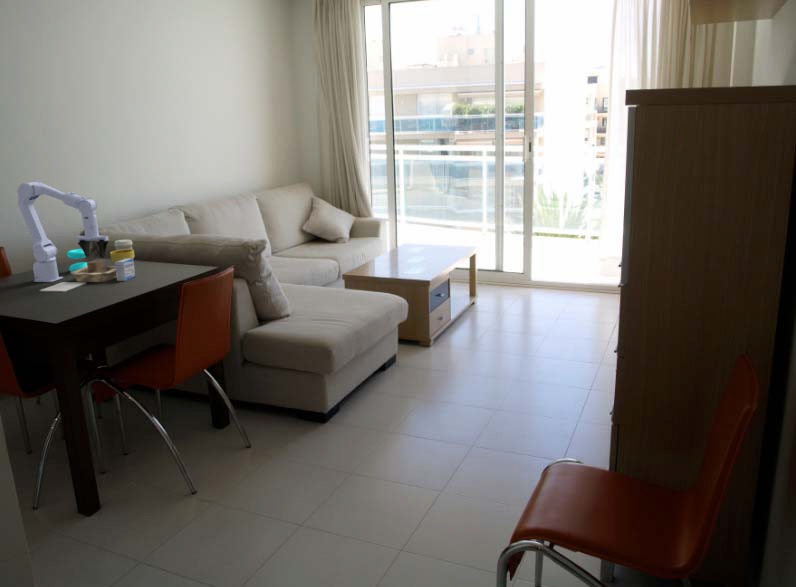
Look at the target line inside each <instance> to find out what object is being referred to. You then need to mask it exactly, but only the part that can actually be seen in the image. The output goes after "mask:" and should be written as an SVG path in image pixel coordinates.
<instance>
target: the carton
mask: <svg viewBox="0 0 796 587" xmlns="http://www.w3.org/2000/svg"><path fill="white" fill-rule="evenodd" d="M106 267H107V272H104V273H88V267H84V268H82V269H79V270H76V271H73V272H71V271H70V272H69V274H70V275H74V277H75V282H82V283H89V282H90V283H106V282H108V281H111V280H113V278H114V279H117V276H116V270H115V265H107V264H106Z"/></svg>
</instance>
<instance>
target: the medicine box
mask: <svg viewBox="0 0 796 587" xmlns="http://www.w3.org/2000/svg"><path fill="white" fill-rule="evenodd" d="M114 266H115V270H116V276H117V277H116V280H117V281H118V282H127V281H130V280H132V279H135V278H136V272H135V271H136V270H135V269H136V268H135V263H134V258H133V259H131V258H127V259H123V260H120V261H117V262H115V264H114ZM129 279H130V280H129Z"/></svg>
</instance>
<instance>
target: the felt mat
mask: <svg viewBox="0 0 796 587" xmlns="http://www.w3.org/2000/svg"><path fill="white" fill-rule="evenodd" d="M86 284H87V282H76V281H73V282H72V281H70V282H68V281H67V282H65V281H62V282H59V283H56V284H54V285H50V286H48V287H46V288H45V287H44V288H41V289H39V291H40V292H62V293H63V292H64V293H65V292H67V291H69V290H72V289H75V288H78V287H80V286H83V285H86Z"/></svg>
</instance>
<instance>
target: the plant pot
mask: <svg viewBox="0 0 796 587" xmlns="http://www.w3.org/2000/svg"><path fill="white" fill-rule="evenodd" d="M109 255H110V259H111V261H113V264H114V265H115V262H117V261H120V260H123V259H127V258H131V259H133V260H134V258H135V249H133V248H132V249H123V250H116V249H115V250H113V251H110V252H109Z"/></svg>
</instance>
